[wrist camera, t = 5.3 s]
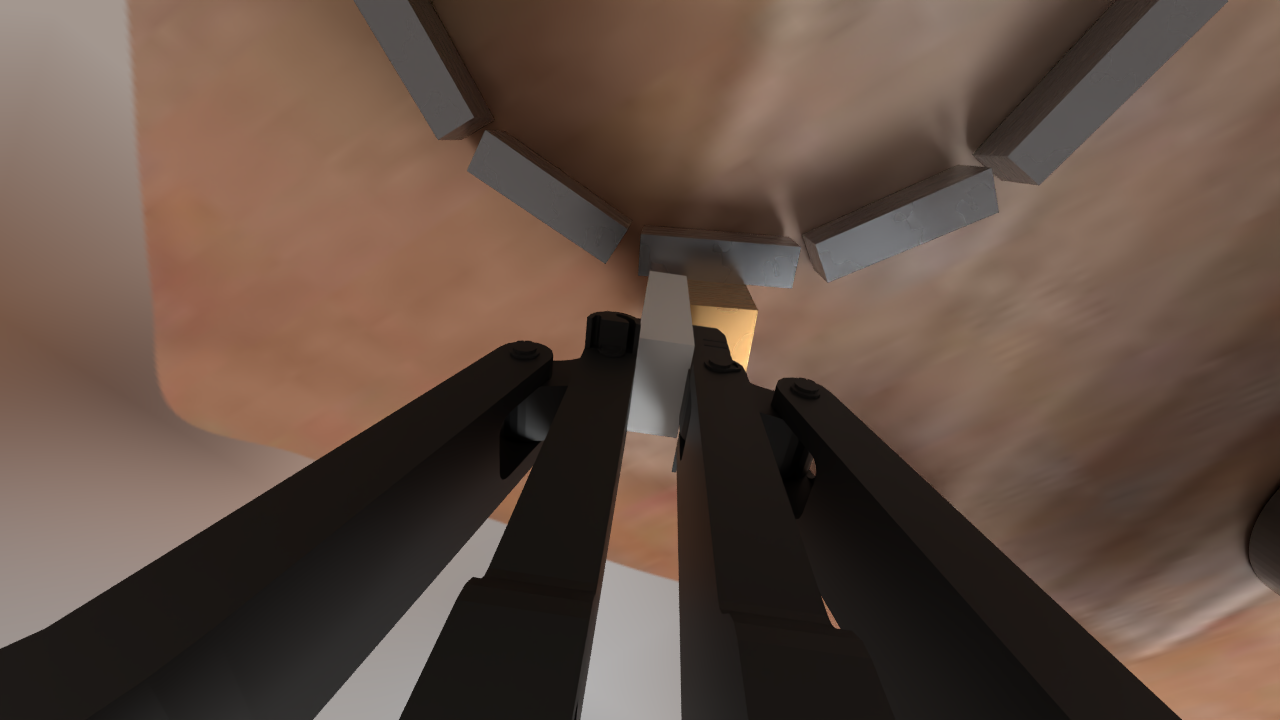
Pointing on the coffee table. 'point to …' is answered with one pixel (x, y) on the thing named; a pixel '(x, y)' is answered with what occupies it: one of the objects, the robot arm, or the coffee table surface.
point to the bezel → (728, 261)
